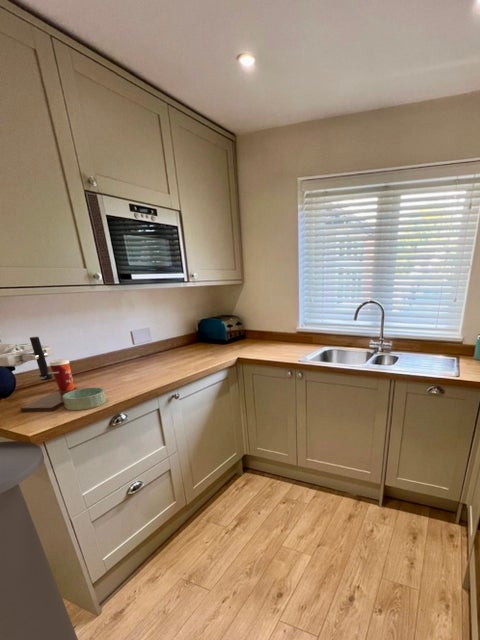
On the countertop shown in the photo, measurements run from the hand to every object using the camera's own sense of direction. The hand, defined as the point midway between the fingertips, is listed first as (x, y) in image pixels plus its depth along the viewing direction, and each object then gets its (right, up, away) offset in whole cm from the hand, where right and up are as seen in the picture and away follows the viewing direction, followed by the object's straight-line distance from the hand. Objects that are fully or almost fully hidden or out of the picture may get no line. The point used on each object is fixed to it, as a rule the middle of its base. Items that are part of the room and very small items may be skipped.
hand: (41, 356), depth 131 cm
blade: (-1, -9, +3) cm, 10 cm away
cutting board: (-1, -18, +8) cm, 20 cm away
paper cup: (-8, -13, +24) cm, 28 cm away
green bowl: (+14, -19, +6) cm, 24 cm away
